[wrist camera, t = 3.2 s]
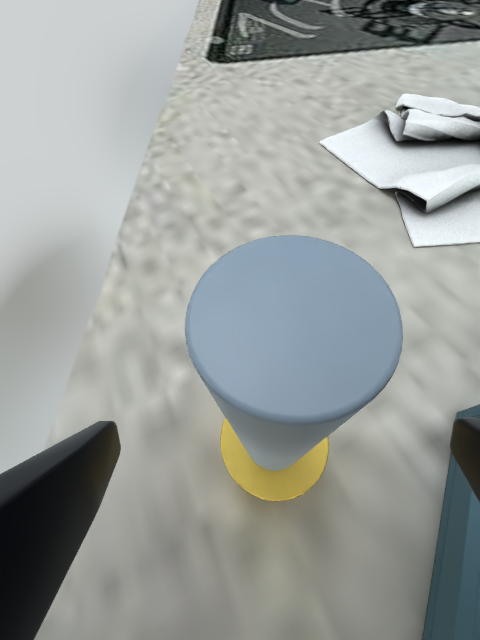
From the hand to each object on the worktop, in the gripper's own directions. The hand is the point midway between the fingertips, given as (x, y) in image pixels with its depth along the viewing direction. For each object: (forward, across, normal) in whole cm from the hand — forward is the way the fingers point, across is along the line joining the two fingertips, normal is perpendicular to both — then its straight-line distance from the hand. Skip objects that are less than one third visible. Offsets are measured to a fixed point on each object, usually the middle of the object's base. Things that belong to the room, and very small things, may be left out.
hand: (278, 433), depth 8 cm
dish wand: (+6, 0, +6) cm, 9 cm away
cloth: (+23, -16, -10) cm, 30 cm away
